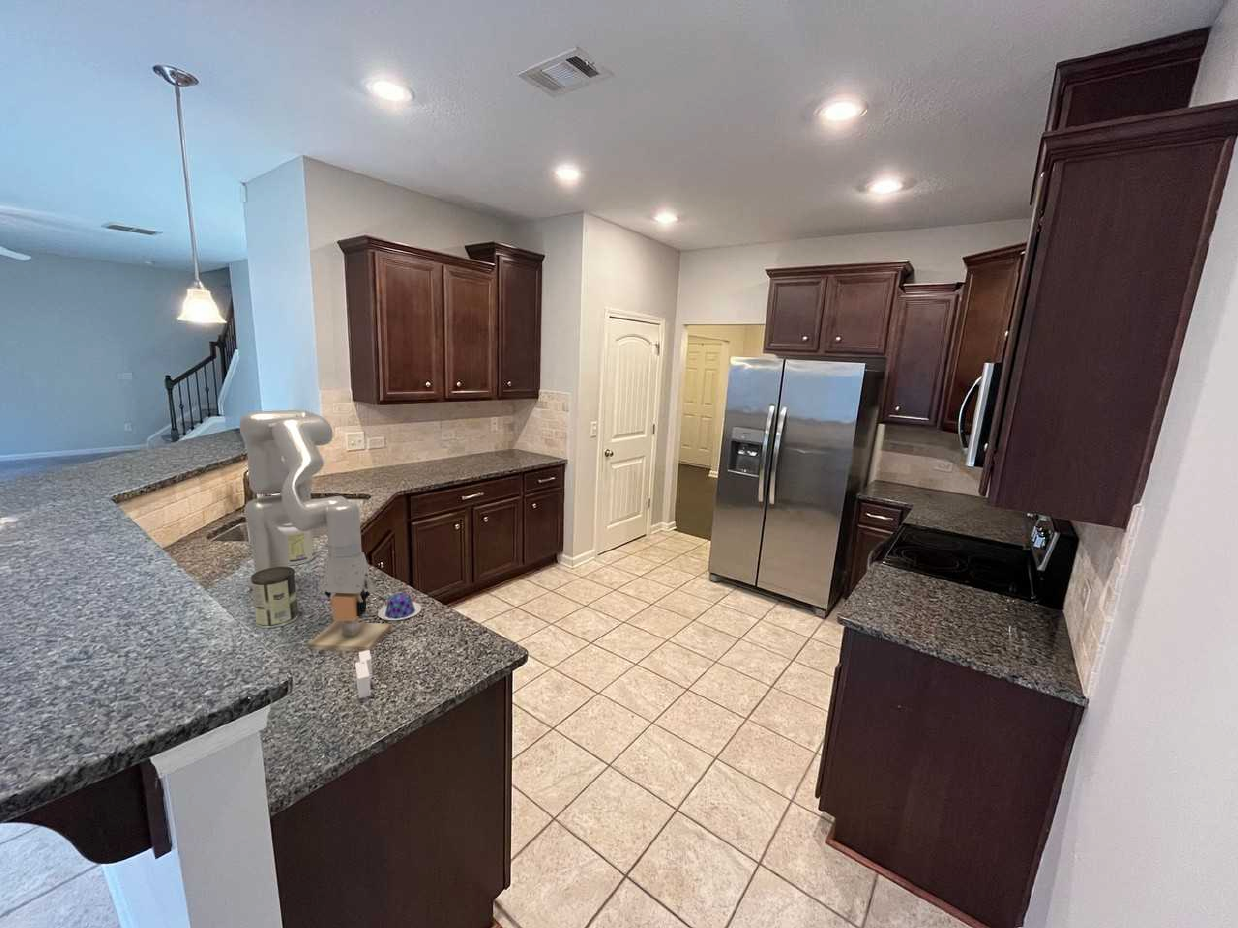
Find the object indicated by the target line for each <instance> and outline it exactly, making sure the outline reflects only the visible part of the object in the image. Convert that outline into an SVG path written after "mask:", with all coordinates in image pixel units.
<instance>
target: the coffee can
mask: <svg viewBox="0 0 1238 928" xmlns="http://www.w3.org/2000/svg"><path fill="white" fill-rule="evenodd" d="M295 572H296V571H295V569H294V568H293V567H291V568H290V567H274V568H269V569H265V570H261V571H259V572H256V573H254V572H253V574H252V575H251V576H250V579H251V581H252V587H251V589H252V591H253V599H254V600H253V599H252V600H253V605H254V606H253V608H254V615H255V625H256V627H258V628H261V629H273V628H278V627H279V628H280V627H284V626H286V625H289V624H291V623H292V622H294V621H296V620H297V619H298V617H299V611H298V601H297V592H296V588H295V583H296V580H295Z"/></svg>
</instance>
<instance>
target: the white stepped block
mask: <svg viewBox="0 0 1238 928" xmlns="http://www.w3.org/2000/svg"><path fill="white" fill-rule="evenodd" d="M371 655H372V654H371V651H369V650H366V651H362V652H358V662H355V663H354V667H355V680H356V681H355V682H356V688H357V693H358V694H357V695H358V699H363V698H365V697H370V696H371V695H372V694H371V693H372V692H371V680H372V679H373V664H372V663H373V661H372V656H371Z"/></svg>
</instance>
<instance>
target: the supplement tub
mask: <svg viewBox="0 0 1238 928" xmlns="http://www.w3.org/2000/svg"><path fill="white" fill-rule="evenodd" d="M278 529H279V530H281V531H282V532H283V533H285V534H286V536H287V538H288V543H289V554H290V565H291V566H297V565H302V564H306V563H309V562H311V561H312V560H314V559H315V557H316V548H315V538H314V537H315V536H314V529H313V530H308V531H301V530H298V529H296V528H295V527H294V526H293V524H292V523H287V524H283V525H279V526H278Z"/></svg>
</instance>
